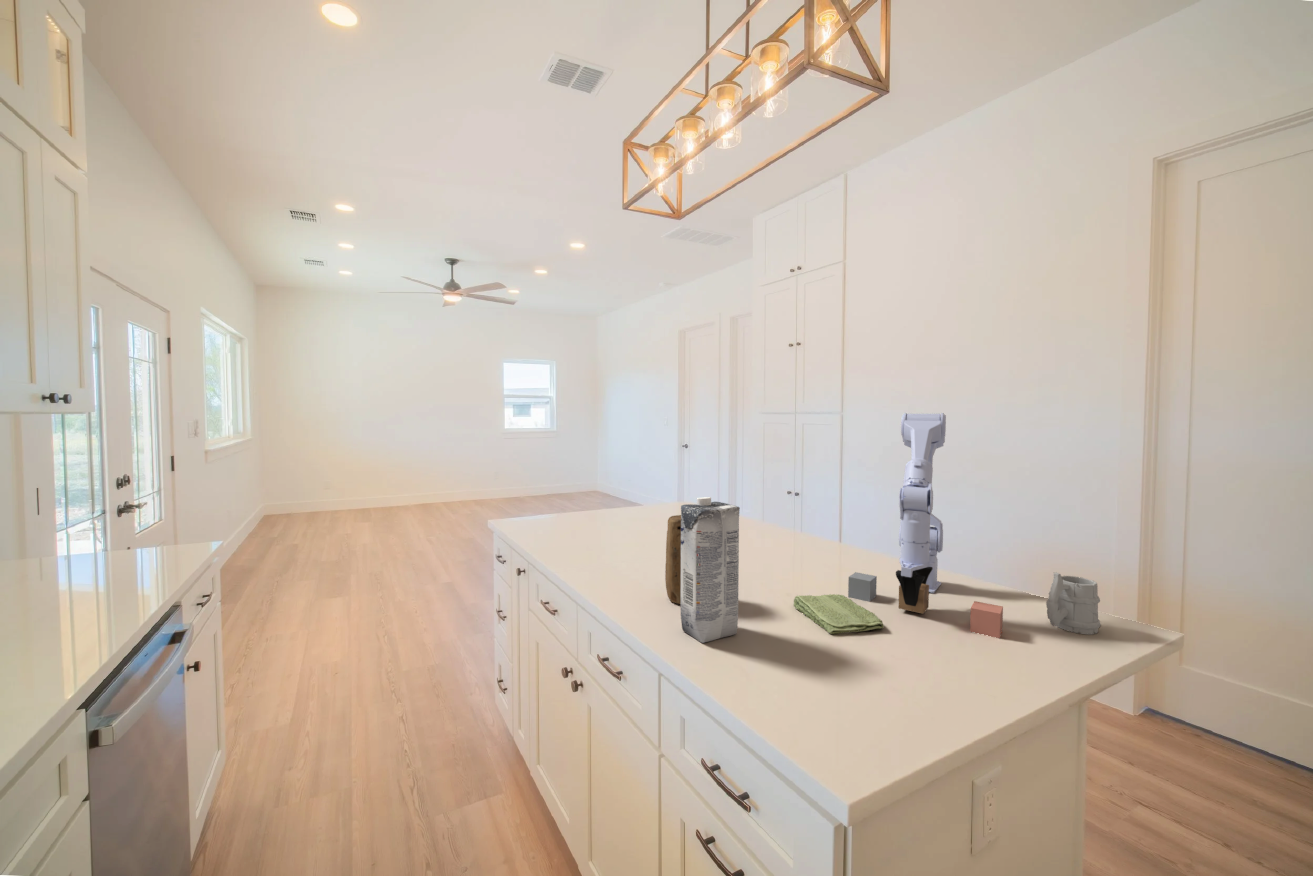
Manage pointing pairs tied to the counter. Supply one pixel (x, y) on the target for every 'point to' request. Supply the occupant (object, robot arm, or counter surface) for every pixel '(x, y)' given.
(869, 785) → the counter surface
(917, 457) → the robot arm
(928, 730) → the counter surface
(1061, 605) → the mug
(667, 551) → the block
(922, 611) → the walnut block
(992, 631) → the brick red block
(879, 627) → the washcloth
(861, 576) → the slate grey block
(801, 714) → the counter surface
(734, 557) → the juice carton
